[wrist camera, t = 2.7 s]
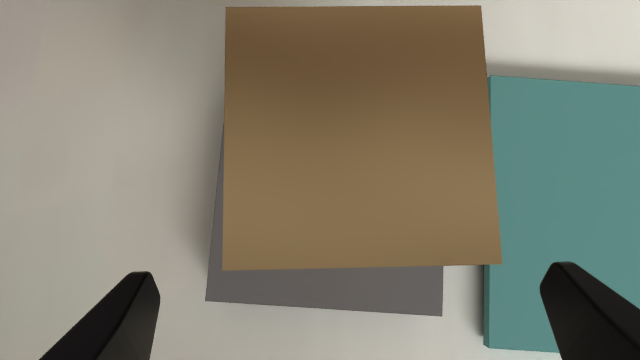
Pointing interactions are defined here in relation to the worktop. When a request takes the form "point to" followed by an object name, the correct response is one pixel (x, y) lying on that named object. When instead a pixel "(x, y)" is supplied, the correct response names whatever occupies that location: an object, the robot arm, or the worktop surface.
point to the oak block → (357, 139)
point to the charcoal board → (322, 281)
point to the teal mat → (560, 197)
